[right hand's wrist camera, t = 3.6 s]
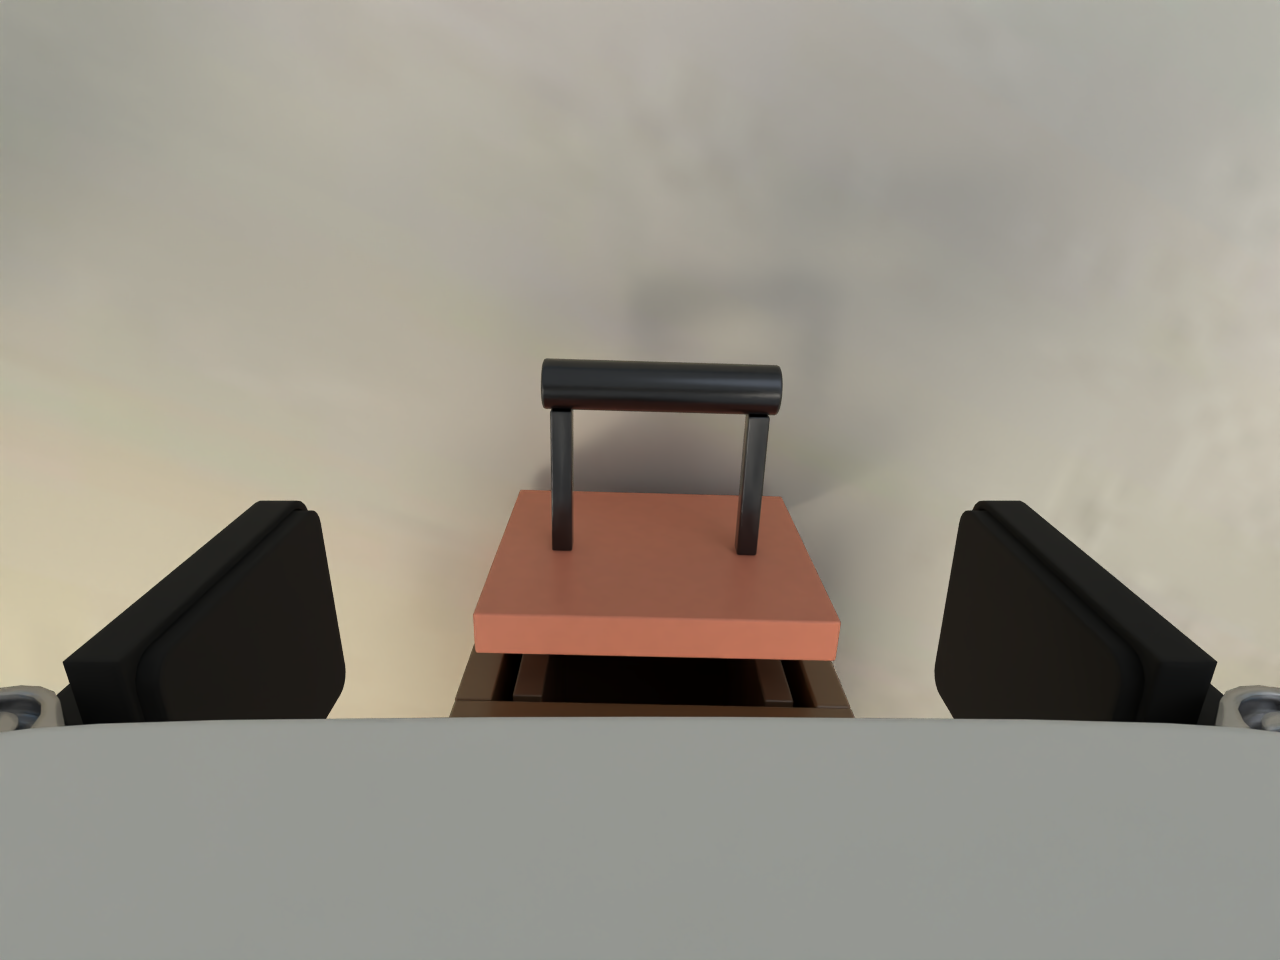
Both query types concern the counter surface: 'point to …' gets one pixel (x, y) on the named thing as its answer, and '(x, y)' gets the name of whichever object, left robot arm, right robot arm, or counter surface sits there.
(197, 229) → the counter surface
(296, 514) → the right robot arm
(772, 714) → the cabinet
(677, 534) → the drawer
